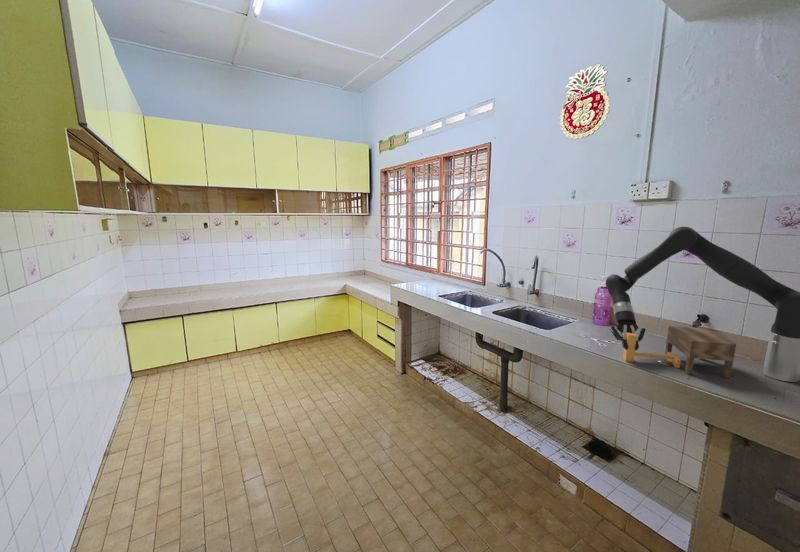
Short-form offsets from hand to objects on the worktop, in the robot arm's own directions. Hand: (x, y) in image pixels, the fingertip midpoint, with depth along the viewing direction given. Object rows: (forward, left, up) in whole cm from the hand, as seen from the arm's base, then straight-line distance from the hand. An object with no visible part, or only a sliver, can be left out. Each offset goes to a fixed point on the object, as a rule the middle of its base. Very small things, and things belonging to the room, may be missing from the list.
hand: (631, 349), depth 141 cm
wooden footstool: (-24, -2, -6) cm, 25 cm away
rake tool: (-8, -2, -6) cm, 10 cm away
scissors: (+8, -25, -7) cm, 27 cm away
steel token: (-13, -2, -6) cm, 15 cm away
